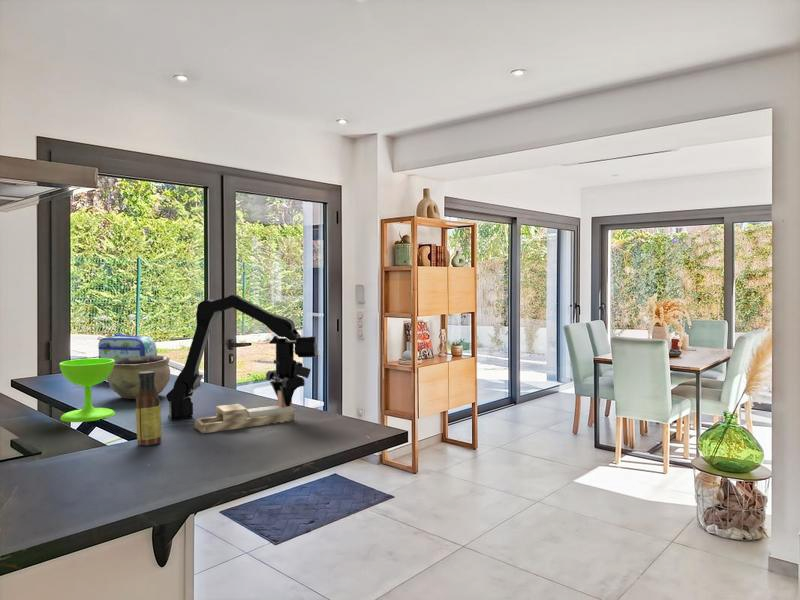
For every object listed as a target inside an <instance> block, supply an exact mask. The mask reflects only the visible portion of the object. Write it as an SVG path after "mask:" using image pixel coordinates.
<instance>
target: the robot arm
mask: <svg viewBox="0 0 800 600" xmlns="http://www.w3.org/2000/svg"><path fill="white" fill-rule="evenodd" d="M229 309H236V310H237V311H238V312H241V313H243V314H244V315H246V316H249V317H251V319H254V320H256V321H258V322H260V323H261V324H263V325H265V326H266V327H267V328H268V329H269V330H270V331H271V332H273V333H274V334H275V335H274V336H273V337H272V339H271V340H269V342H268V343H269V344H271V345H273V344H275V359H273V364H275V369H274V370H268V371H267V372H266V373H265V379H266V380H267V381H269V384H270V385H271V387H272V389H273V391H274V393H275V395H276V397H277V399H278V390H281V392H282V395H283V399H284V402H285V405H286V406H290V403H291V400H293V396H294V393H295V391H296V390H297V389H298V388H300V387H305V379H309V376H310V373H311V368H308V367H305V366H303V363H302V362H298V361H297V360H296V359H294V358H295V356H294V355H296V356H297V357H298V358H317V356H318V345H317V339H316V338H317V337H316V336H313V335H312V336H302V335H300V334H301V333H299V331H298V330H297V329H296V325H295V322H294V320H292V319H290V318H288V317H285V316H281V315H279V314H275V313H271V312H269V311H267V310H265V309H263V308H261V307H260V306H258V305H256V304H254V303H252V302H251V301H248V300H247V299H244V298H243V297H241V295H239V294H231V295H229V296H226V297H222V298H219V299H207V300H206V299H205V300H202V301H201V302H199V303H198V305H197V307H196V315H195V316H196V317H195V320H196V328H195V331H194V334H193V337H192V340H191V344H190V348H189V349H188V350H189V351H188V353H187V354H188V355H187V358H186V359H185V360H186V361H185V365H184V367H183V368H182V370H181V371H180V373H179V374H178V376H177V378H176V379H175V382H174V383H173V388H172V389H170V391H169V392H168V393H167V394H166V395H165V396H166V399H167V402H168V403H169V404H168V405H169V407H168V409H169V410H168V411H169V413H168V414H167V417H168V418H169V419H170V420H171V421H176V420H178V419H179V420H185V419H186V418H187V419H193V418H194V417H193V415H194V403H193V402H192V398H191V397H192V396H193V394H194V392H195V391H197V389H198V388H200V387H201V381H202V379H203V377H204V375H203V374H201V373H200V372H199V371H200V370H199V368H200V365H201V362H202V358H203V357H204V356H203V355H204V351H205V349H206V345H207V343H208V338H209V336H210V333H211V329H212V327H213V325H215V323H216V321H217V320H218V317H219V316H220V314H221V312H223V311H226V310H229ZM304 378H305V379H304Z"/></svg>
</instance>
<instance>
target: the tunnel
mask: <svg viewBox="0 0 800 600" xmlns="http://www.w3.org/2000/svg"><path fill="white" fill-rule="evenodd" d="M247 409H248V408H247V407H245V406H243V405H241V404H240V403H235V404H234V403H233V404H224V405H216V406H215V415H216V416H208V417H200V418H194V428H195V429H197V431H199V432H200V433H201V434H207V433H216V432H223V431H229V430H236V429H243V428H251V427H256V426H257V427H258V426H264V425H265V424H266V425H270V423H273V424H278V423H277V422H280V423H285V422H284V421H287V422H292V421H291V420H294V421H295V412H293V411H292V412H290V413H282V414H275V415H267V416H259V417H252V418H247Z"/></svg>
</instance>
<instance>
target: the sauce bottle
mask: <svg viewBox="0 0 800 600" xmlns="http://www.w3.org/2000/svg"><path fill="white" fill-rule="evenodd" d="M154 377H155V372H154V371H144V372H139V379H140V386H139V387H140V390H139V392H138V394H137V396H136V399H135V419H136V440H137V445H139V446H142V447H148V446H149V447H150V446H155V445H158V444H160V443H161V442H162V434H163V432H162V416H161V415H162V413H161V412H162V411H161V399H160V396H159V394H157V391H156V388H155V385H154Z"/></svg>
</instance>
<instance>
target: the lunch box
mask: <svg viewBox="0 0 800 600" xmlns="http://www.w3.org/2000/svg"><path fill="white" fill-rule="evenodd" d="M97 347H98V358H103V359H117V358H123V357H139V356H150V355H158V354H157V353H158V351H157V346H156V342H155V340H154V339H152V337H149V336H143V335H129V334H121V333H116V334H114V335H112V336H108V337H102V338H101V339H99V342H98V346H97ZM105 380H107V381H108V377H107V379H105Z"/></svg>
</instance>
